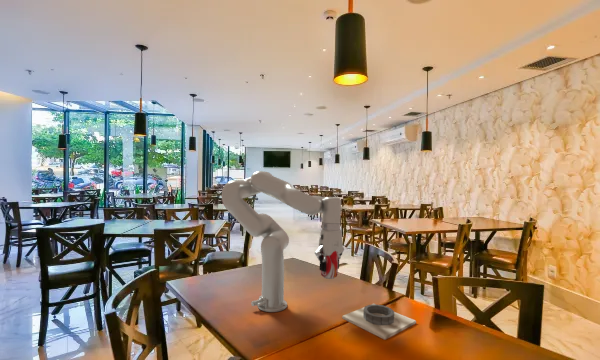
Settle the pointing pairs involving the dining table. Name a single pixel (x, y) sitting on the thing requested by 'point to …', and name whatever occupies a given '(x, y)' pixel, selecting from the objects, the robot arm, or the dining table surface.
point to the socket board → (378, 328)
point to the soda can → (331, 266)
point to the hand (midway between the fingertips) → (329, 269)
